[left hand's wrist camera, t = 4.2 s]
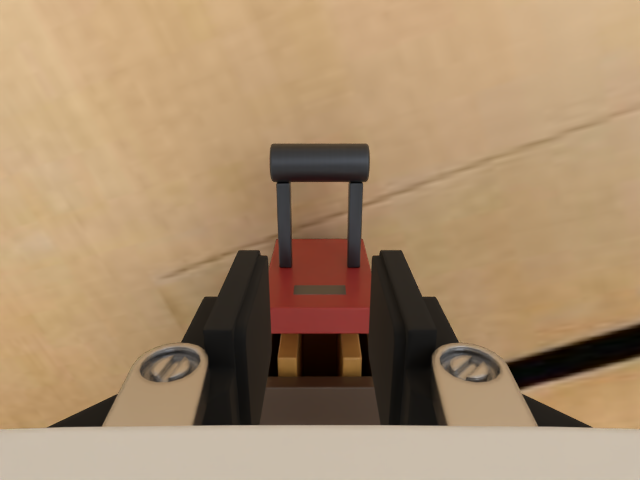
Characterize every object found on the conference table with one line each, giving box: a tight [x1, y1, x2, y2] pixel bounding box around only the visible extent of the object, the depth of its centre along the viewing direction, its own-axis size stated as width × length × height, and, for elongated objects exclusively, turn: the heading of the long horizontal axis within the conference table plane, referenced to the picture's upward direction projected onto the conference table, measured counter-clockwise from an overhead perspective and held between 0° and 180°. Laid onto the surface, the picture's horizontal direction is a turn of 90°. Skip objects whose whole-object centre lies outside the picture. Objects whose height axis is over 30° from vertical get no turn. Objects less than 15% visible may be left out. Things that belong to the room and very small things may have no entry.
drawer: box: [269, 144, 371, 377], centre depth 23 cm, size 20×5×8 cm, turn 0°
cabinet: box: [260, 334, 380, 425], centre depth 25 cm, size 16×6×10 cm, turn 0°
